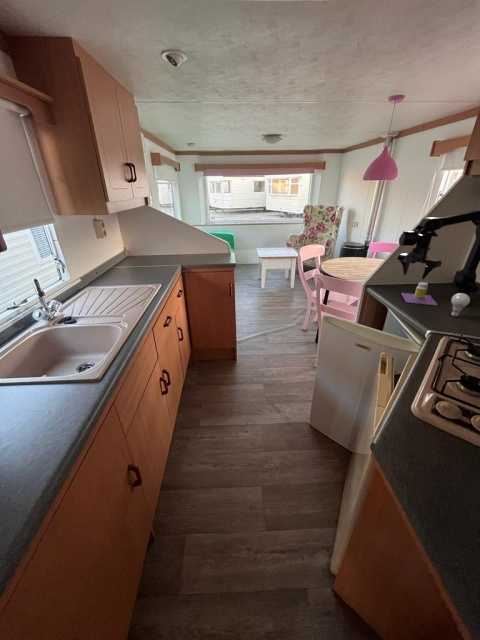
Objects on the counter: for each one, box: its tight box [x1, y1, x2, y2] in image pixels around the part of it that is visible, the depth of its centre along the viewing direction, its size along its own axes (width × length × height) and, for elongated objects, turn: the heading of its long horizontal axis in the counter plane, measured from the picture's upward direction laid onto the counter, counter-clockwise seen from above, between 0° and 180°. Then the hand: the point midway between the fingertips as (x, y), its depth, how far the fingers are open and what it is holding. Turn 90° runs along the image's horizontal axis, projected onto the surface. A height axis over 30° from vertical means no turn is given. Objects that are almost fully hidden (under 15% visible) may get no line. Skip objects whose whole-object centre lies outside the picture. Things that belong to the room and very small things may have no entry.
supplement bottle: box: [414, 281, 429, 300], centre depth 137 cm, size 5×5×8 cm
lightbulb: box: [450, 293, 471, 317], centre depth 118 cm, size 6×6×11 cm
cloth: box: [400, 292, 439, 307], centre depth 139 cm, size 14×14×1 cm
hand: (413, 276), depth 135 cm, fingers open, 9 cm apart
